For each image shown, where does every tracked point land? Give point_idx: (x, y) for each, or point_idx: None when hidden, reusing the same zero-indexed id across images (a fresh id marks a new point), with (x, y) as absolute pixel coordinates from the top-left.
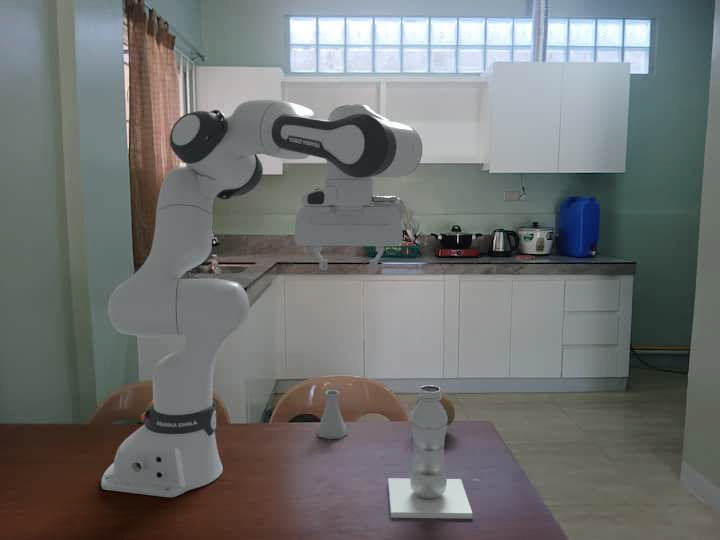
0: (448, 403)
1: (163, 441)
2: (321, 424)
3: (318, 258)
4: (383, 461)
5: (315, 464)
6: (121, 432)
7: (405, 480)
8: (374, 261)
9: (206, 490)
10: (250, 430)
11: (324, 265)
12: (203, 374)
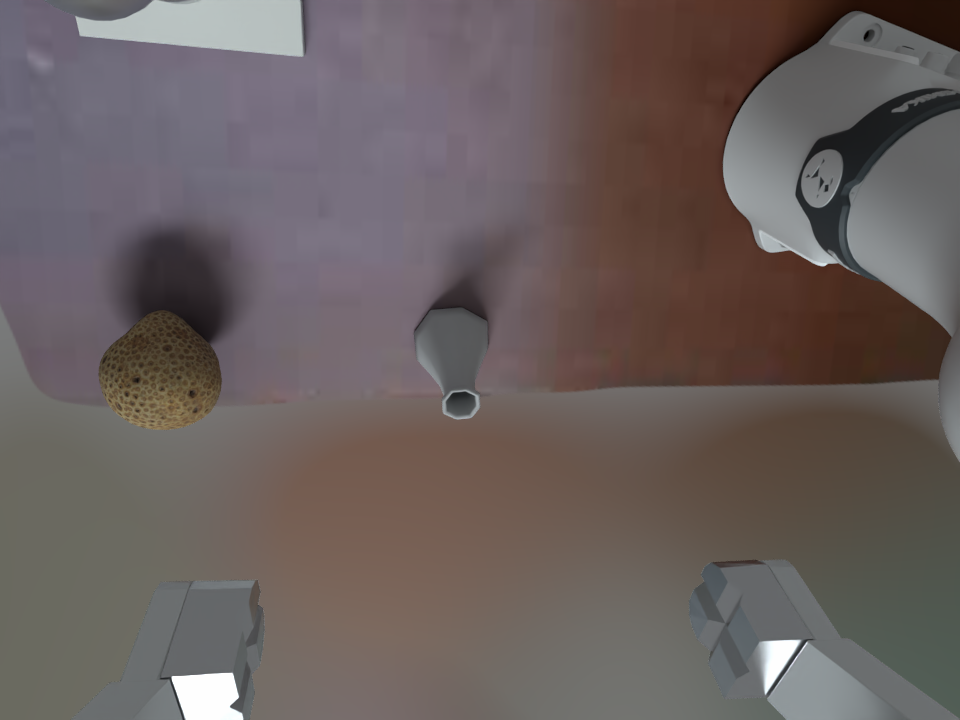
0: (107, 372)
1: (951, 87)
2: (481, 340)
3: (867, 659)
4: (319, 185)
5: (498, 175)
6: (910, 345)
7: (251, 38)
8: (167, 673)
9: (769, 48)
10: (641, 354)
11: (759, 591)
12: None
